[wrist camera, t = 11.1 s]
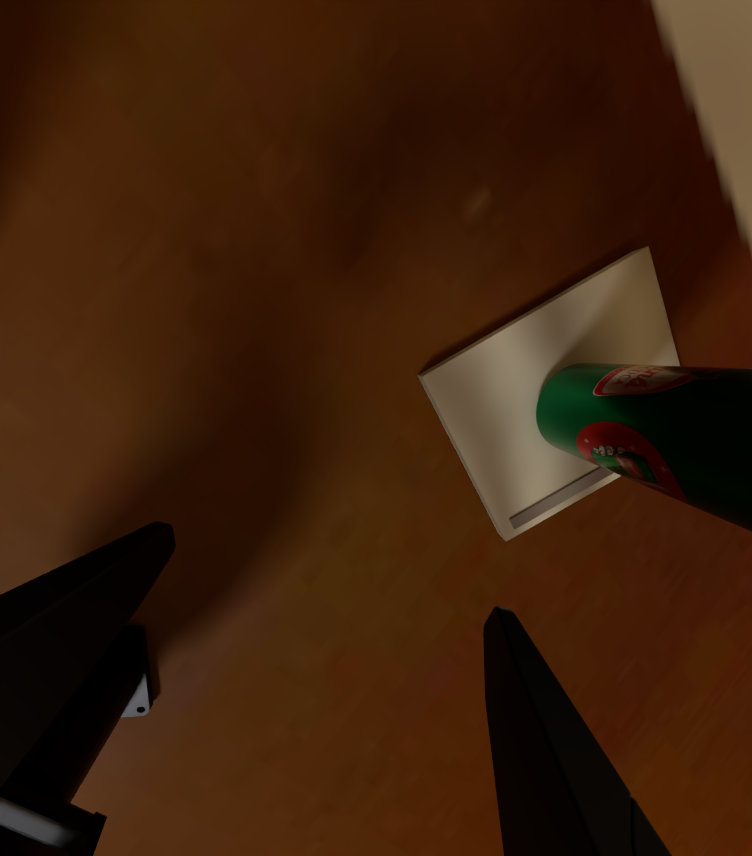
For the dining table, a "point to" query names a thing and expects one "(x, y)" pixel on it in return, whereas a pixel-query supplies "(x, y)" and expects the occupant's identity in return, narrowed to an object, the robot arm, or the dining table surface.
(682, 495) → the soda can
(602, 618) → the dining table surface
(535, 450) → the white rectangular tray
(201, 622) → the dining table surface
